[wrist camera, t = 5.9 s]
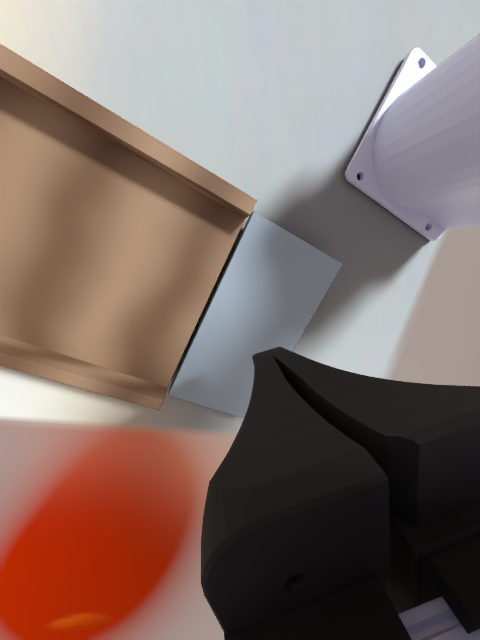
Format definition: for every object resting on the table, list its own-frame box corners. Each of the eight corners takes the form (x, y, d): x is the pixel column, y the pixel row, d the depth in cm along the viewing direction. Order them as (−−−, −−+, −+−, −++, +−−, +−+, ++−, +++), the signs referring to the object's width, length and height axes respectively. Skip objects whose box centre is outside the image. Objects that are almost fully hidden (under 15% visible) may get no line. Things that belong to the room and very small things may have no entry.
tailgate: (249, 214, 15) (331, 262, 17) (170, 384, 18) (249, 409, 20) (253, 211, 14) (342, 263, 16) (168, 395, 16) (252, 421, 18)
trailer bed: (245, 210, 15) (264, 193, 11) (166, 381, 18) (155, 427, 13) (-43, 42, 11) (-221, -110, 6) (-89, 299, 14) (-238, 324, 9)
